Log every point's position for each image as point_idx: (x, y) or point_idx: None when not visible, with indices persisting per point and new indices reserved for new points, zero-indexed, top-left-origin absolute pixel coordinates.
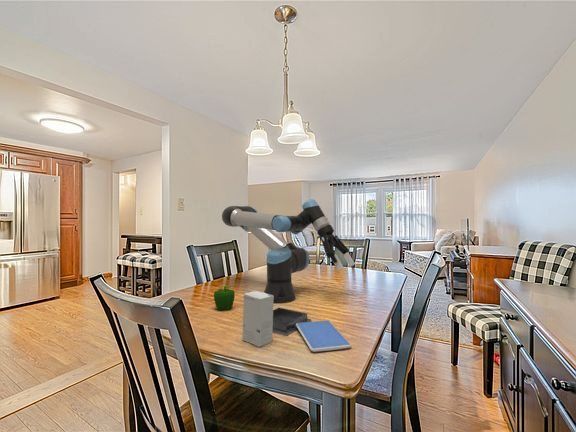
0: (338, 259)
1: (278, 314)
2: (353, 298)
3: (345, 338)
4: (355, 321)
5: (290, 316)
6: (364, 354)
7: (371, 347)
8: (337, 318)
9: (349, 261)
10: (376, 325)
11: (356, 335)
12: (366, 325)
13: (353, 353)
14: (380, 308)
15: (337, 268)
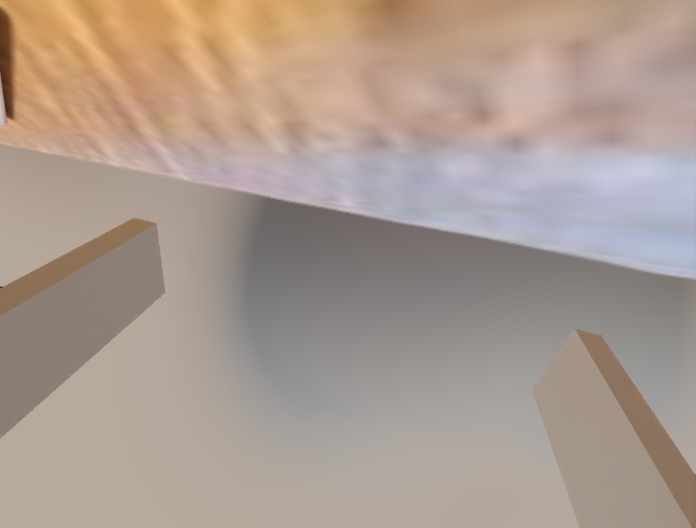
0: (52, 373)
1: None
2: (570, 56)
3: (1, 110)
4: (160, 113)
5: None
6: (32, 144)
7: (72, 156)
8: (106, 30)
9: (584, 425)
10: (195, 171)
11: (77, 124)
12: (166, 147)
13: None
14: (376, 194)
15: (115, 235)
